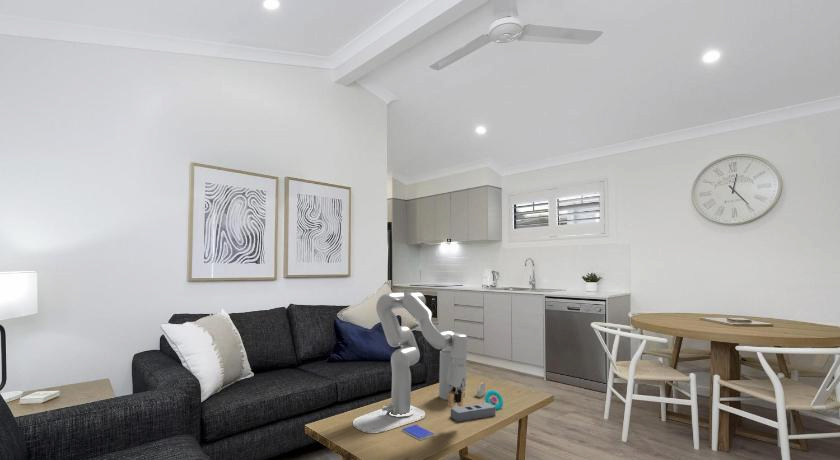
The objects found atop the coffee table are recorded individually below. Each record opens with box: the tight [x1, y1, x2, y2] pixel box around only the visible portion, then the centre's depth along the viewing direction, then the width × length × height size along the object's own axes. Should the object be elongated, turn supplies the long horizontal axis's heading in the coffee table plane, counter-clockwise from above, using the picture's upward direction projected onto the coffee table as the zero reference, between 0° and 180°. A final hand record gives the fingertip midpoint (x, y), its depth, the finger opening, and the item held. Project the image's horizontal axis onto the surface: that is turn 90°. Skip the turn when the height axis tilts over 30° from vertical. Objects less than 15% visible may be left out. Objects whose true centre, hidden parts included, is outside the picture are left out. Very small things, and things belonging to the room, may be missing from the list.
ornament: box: [484, 390, 504, 411], centre depth 223 cm, size 11×4×10 cm
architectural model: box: [474, 382, 486, 398], centre depth 242 cm, size 3×7×7 cm, turn 145°
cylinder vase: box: [438, 349, 459, 401], centre depth 237 cm, size 12×12×25 cm
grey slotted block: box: [450, 402, 497, 423], centre depth 209 cm, size 22×7×4 cm, turn 117°
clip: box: [447, 391, 466, 409], centre depth 195 cm, size 8×3×6 cm, turn 117°
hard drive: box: [401, 424, 435, 441], centre depth 186 cm, size 2×8×12 cm
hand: (455, 400), depth 195 cm, fingers closed on clip, 3 cm apart
